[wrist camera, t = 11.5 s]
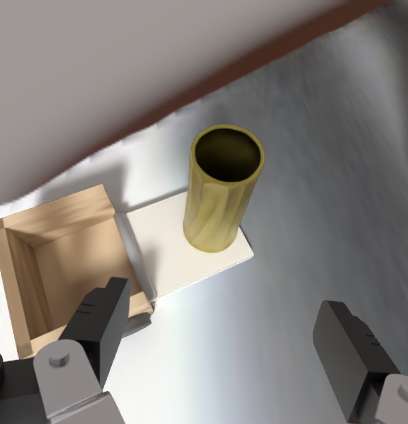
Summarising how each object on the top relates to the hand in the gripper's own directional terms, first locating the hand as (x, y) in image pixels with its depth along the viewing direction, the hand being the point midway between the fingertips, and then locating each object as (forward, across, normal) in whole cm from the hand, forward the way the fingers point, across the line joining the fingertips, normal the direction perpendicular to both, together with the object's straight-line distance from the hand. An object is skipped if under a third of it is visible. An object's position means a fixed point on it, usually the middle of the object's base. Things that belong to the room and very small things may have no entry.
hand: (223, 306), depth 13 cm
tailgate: (+21, +2, +7) cm, 22 cm away
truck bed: (+17, +12, +11) cm, 24 cm away
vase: (+21, 0, +6) cm, 22 cm away
